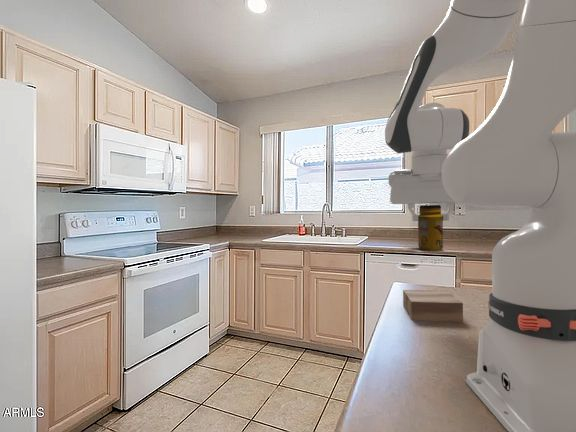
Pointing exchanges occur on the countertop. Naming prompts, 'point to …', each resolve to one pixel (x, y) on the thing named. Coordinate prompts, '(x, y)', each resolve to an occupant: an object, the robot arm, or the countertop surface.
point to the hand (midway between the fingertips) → (430, 220)
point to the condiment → (430, 229)
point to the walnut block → (432, 305)
